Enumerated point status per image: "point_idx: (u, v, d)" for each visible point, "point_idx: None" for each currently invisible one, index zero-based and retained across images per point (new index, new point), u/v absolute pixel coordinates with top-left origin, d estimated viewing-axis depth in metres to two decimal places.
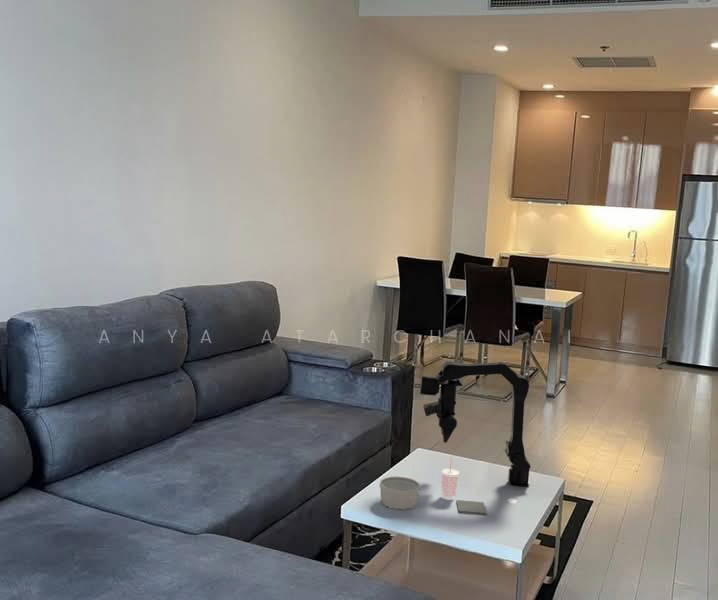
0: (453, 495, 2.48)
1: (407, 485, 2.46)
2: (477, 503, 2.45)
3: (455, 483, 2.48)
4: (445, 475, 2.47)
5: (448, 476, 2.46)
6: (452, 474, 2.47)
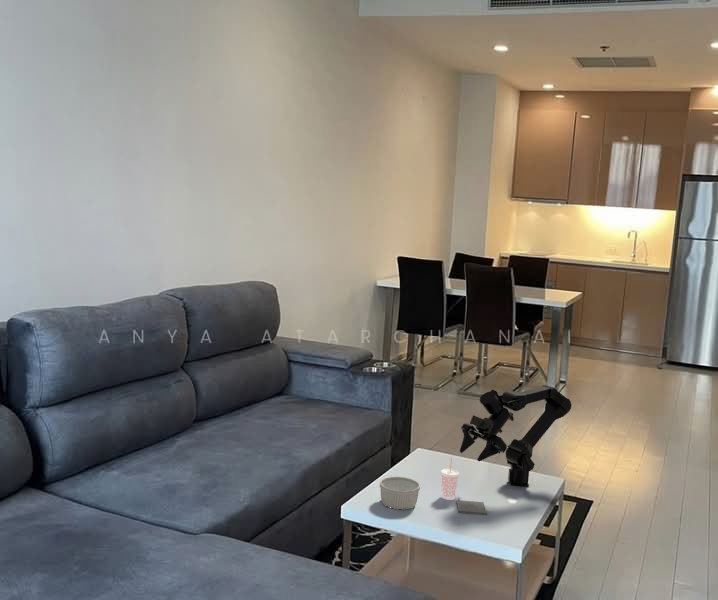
0: (453, 495, 2.48)
1: (407, 485, 2.46)
2: (477, 503, 2.45)
3: (455, 483, 2.48)
4: (445, 475, 2.47)
5: (448, 476, 2.46)
6: (452, 474, 2.47)
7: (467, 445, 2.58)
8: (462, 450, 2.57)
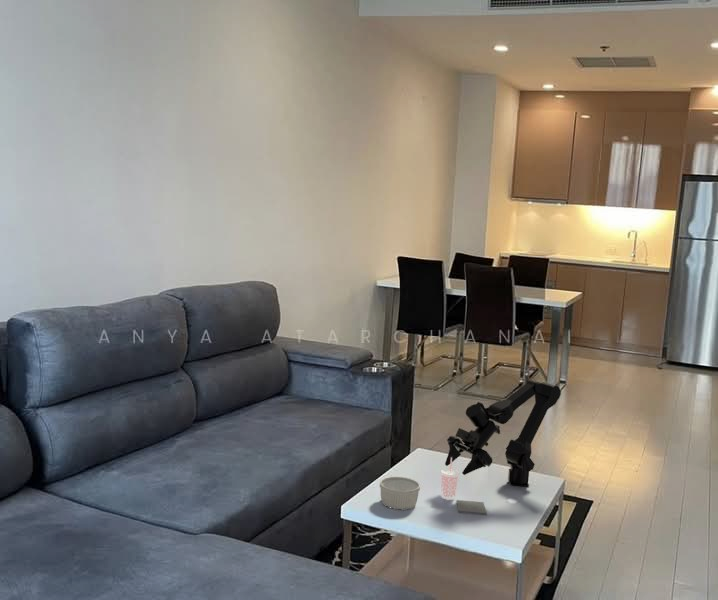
0: (453, 495, 2.48)
1: (407, 485, 2.46)
2: (477, 503, 2.45)
3: (455, 483, 2.48)
4: (445, 475, 2.47)
5: (448, 476, 2.46)
6: (452, 474, 2.47)
7: (453, 458, 2.55)
8: (447, 463, 2.54)
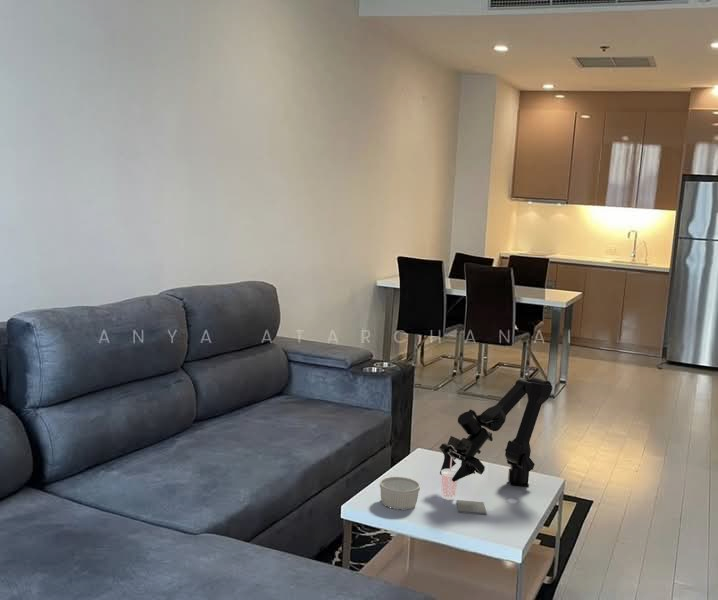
0: (453, 495, 2.48)
1: (407, 485, 2.46)
2: (477, 503, 2.45)
3: (455, 483, 2.48)
4: (445, 475, 2.47)
5: (448, 476, 2.46)
6: (452, 474, 2.47)
7: (448, 467, 2.53)
8: None
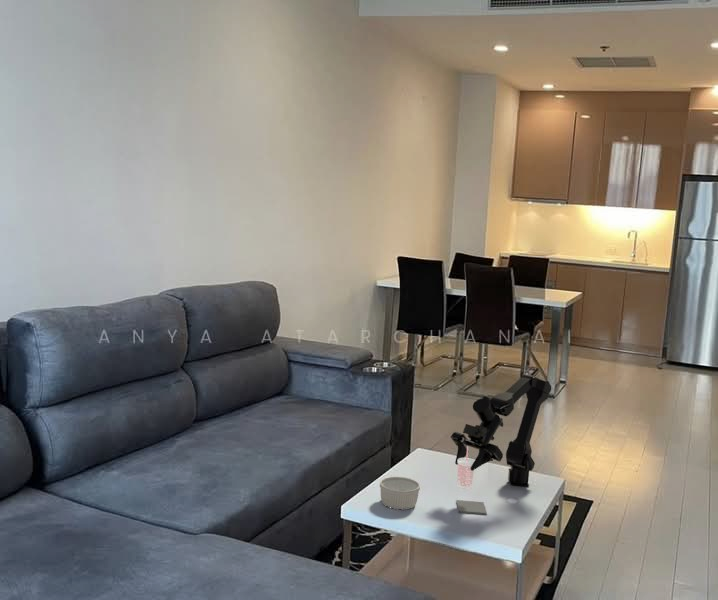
0: (470, 484, 2.42)
1: (407, 485, 2.46)
2: (477, 503, 2.45)
3: (472, 472, 2.42)
4: (463, 464, 2.40)
5: (466, 465, 2.40)
6: (470, 463, 2.41)
7: (462, 456, 2.46)
8: None
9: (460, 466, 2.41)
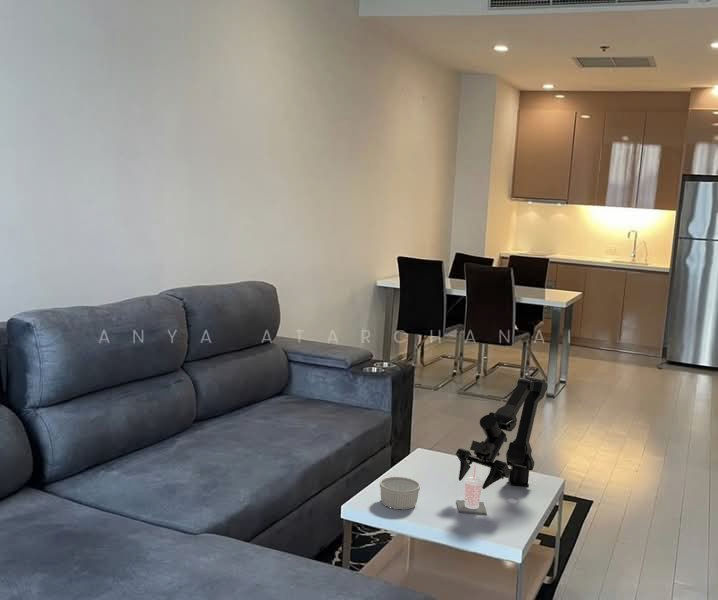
0: (478, 504, 2.41)
1: (407, 485, 2.46)
2: None
3: (480, 491, 2.40)
4: (471, 484, 2.38)
5: (474, 485, 2.38)
6: (477, 482, 2.39)
7: (465, 472, 2.45)
8: (461, 478, 2.43)
9: (468, 486, 2.39)
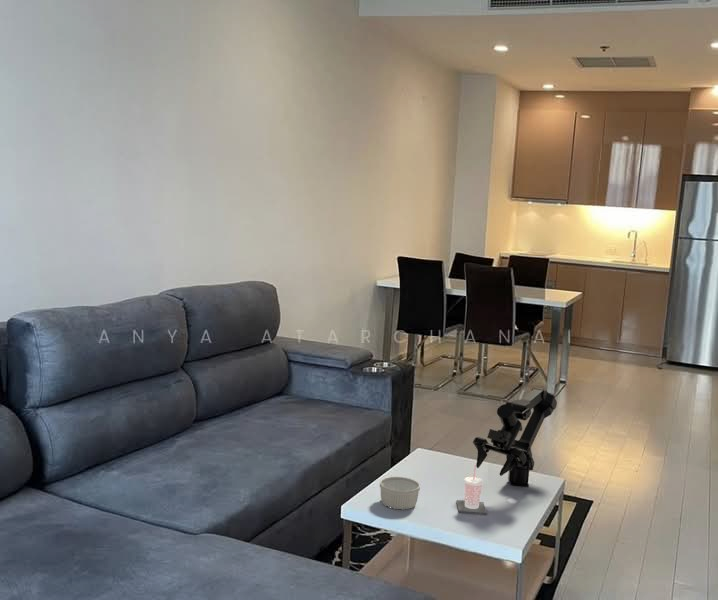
0: (478, 504, 2.41)
1: (407, 485, 2.46)
2: None
3: (480, 491, 2.40)
4: (471, 484, 2.38)
5: (474, 485, 2.38)
6: (477, 482, 2.39)
7: (482, 459, 2.53)
8: (478, 465, 2.51)
9: (468, 486, 2.39)
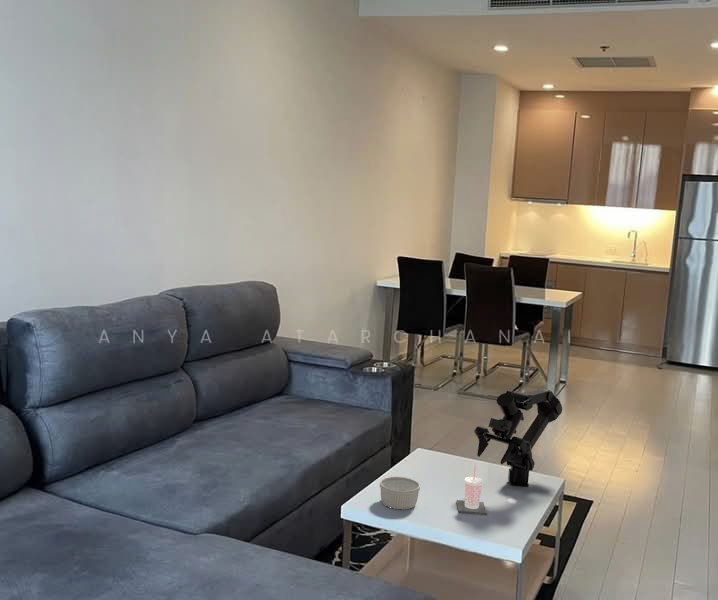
0: (478, 504, 2.41)
1: (407, 485, 2.46)
2: None
3: (480, 491, 2.40)
4: (471, 484, 2.38)
5: (474, 485, 2.38)
6: (477, 482, 2.39)
7: (483, 448, 2.55)
8: (479, 454, 2.53)
9: (468, 486, 2.39)
